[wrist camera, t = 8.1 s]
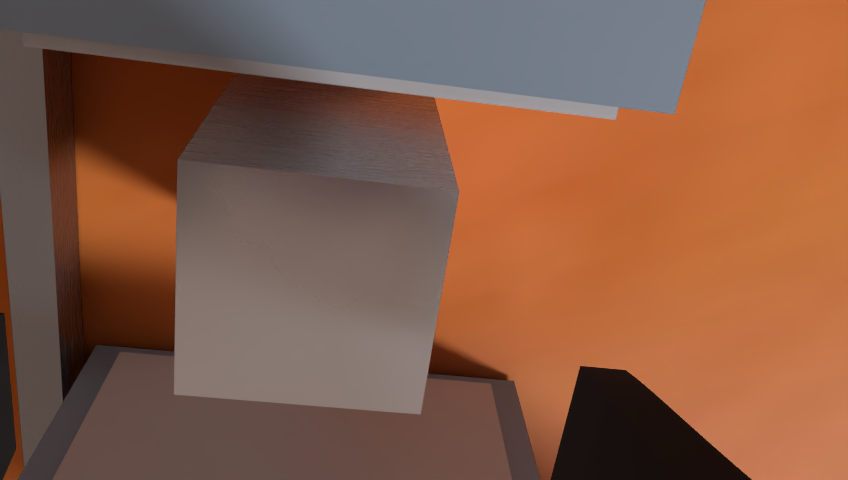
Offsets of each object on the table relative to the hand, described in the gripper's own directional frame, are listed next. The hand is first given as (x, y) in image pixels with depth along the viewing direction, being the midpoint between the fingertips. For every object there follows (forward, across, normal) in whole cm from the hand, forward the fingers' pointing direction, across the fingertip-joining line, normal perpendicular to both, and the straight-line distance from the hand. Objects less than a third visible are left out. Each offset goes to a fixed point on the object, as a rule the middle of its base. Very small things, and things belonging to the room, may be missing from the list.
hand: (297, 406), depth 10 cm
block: (+9, 0, 0) cm, 9 cm away
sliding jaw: (+9, 0, +6) cm, 11 cm away
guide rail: (+9, +6, +1) cm, 11 cm away
